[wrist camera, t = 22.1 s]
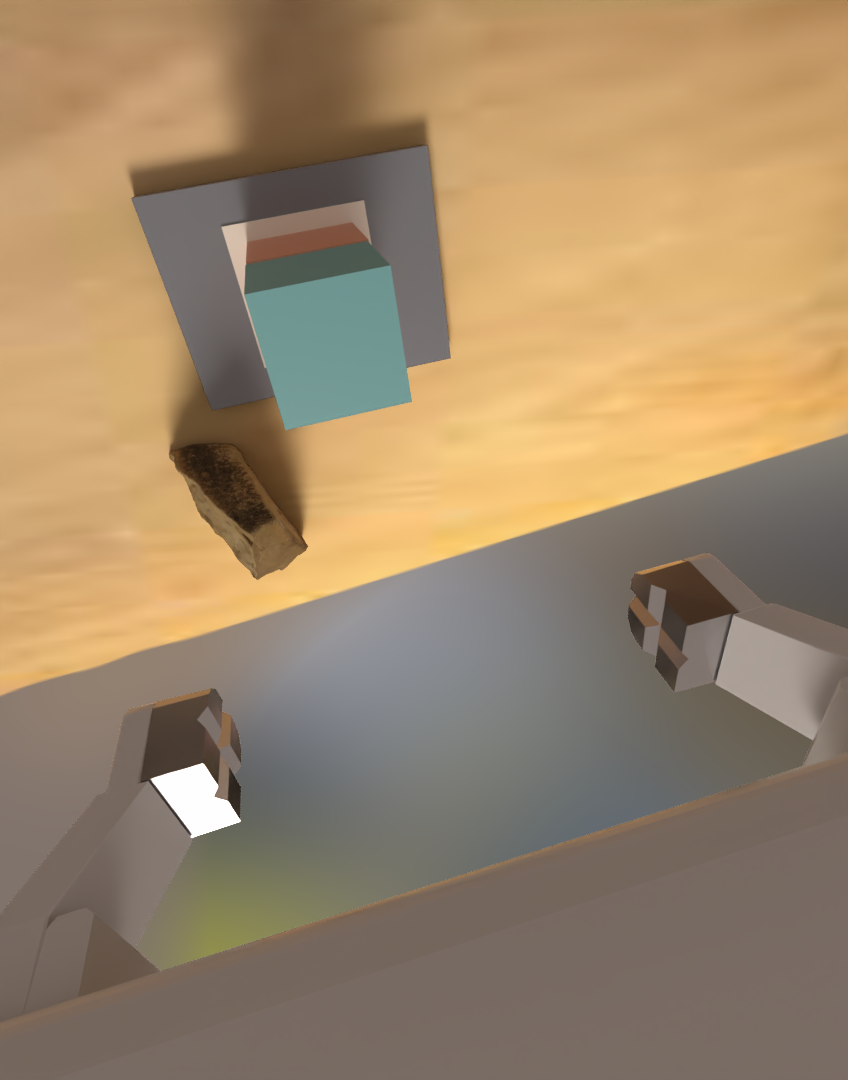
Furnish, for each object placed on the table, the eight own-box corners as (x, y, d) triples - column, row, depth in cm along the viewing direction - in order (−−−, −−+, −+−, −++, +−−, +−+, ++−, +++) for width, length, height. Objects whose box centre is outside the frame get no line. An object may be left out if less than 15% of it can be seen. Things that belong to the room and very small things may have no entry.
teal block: (367, 241, 29) (390, 265, 24) (388, 360, 32) (411, 401, 28) (245, 264, 28) (244, 294, 23) (280, 383, 32) (285, 430, 27)
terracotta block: (351, 222, 33) (368, 239, 29) (371, 328, 37) (388, 359, 32) (246, 241, 33) (245, 262, 28) (276, 347, 36) (280, 382, 32)
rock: (344, 562, 46) (336, 456, 39) (281, 643, 40) (259, 535, 33) (229, 521, 49) (203, 415, 42) (155, 591, 43) (110, 481, 36)
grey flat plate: (423, 144, 33) (428, 145, 32) (446, 353, 40) (450, 358, 39) (134, 196, 31) (131, 198, 30) (212, 404, 39) (211, 411, 38)
